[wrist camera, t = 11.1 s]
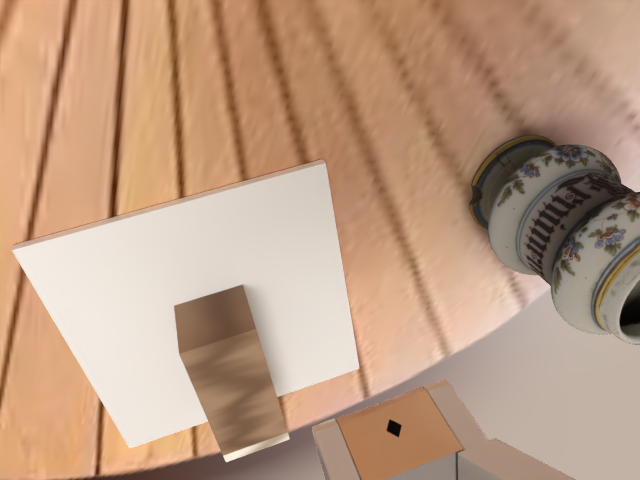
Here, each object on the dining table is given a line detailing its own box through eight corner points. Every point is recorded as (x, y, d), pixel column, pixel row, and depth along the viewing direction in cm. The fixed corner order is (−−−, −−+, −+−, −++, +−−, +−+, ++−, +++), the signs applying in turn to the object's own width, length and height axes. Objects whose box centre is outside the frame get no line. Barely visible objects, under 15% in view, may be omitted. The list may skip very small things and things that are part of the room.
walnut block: (256, 328, 41) (289, 439, 48) (242, 284, 46) (275, 391, 53) (179, 353, 40) (226, 462, 48) (173, 305, 45) (217, 411, 52)
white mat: (322, 158, 43) (325, 162, 42) (356, 363, 56) (359, 368, 55) (13, 244, 39) (11, 250, 38) (129, 441, 52) (129, 448, 51)
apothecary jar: (456, 143, 46) (610, 252, 31) (577, 108, 48) (776, 194, 33) (458, 255, 52) (585, 387, 38) (564, 220, 54) (724, 333, 40)
